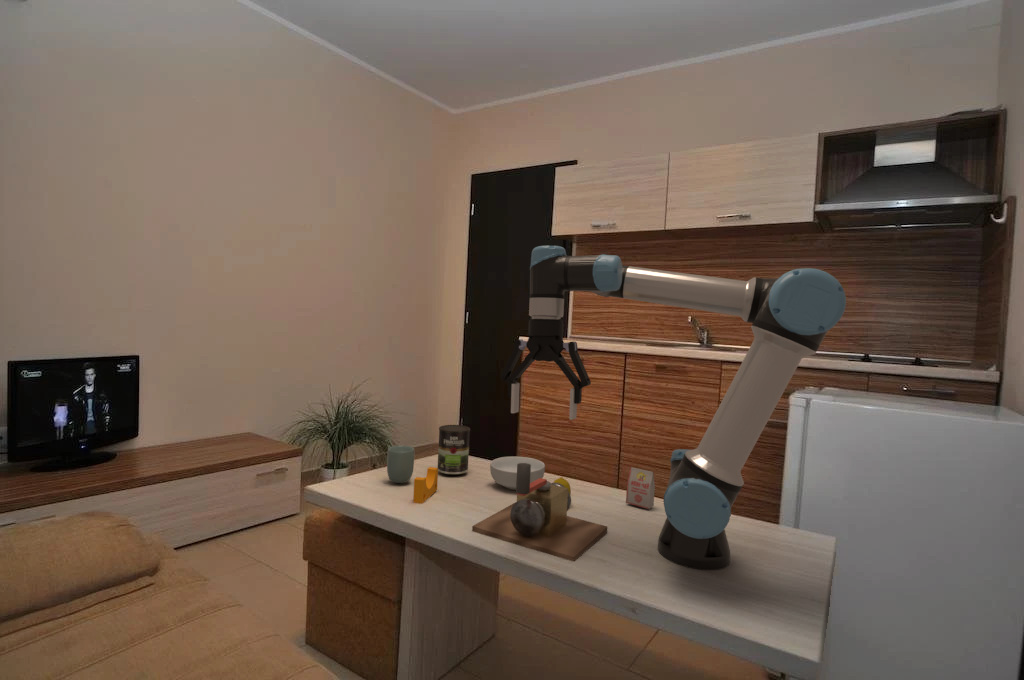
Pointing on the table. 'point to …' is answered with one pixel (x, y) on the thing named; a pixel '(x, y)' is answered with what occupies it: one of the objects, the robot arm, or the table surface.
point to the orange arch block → (425, 486)
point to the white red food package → (640, 488)
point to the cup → (400, 463)
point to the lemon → (563, 483)
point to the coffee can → (453, 449)
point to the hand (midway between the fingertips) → (543, 415)
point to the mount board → (561, 544)
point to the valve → (541, 511)
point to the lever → (528, 481)
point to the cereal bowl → (514, 470)
